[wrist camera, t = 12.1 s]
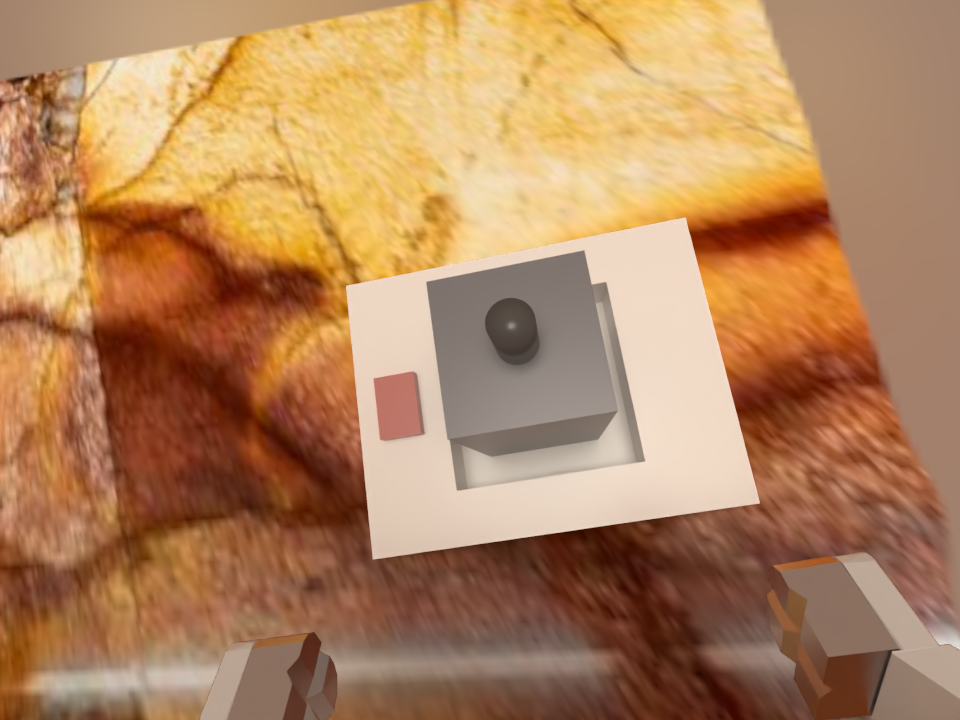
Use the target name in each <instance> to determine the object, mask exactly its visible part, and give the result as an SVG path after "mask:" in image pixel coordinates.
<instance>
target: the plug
mask: <svg viewBox="0 0 960 720" xmlns="http://www.w3.org/2000/svg"><path fill="white" fill-rule="evenodd" d="M426 284H427V292H428V299H429V307H430V314H431V321H432V329H433V336H434V344H435V351H436V359H437V366H438V373H439V381H440V388H441V396H442V403H443V410H444V418H445V425H446V433H447V439H448V440H450V441H453V442H455V443H458V444H460V445H463V446H465V447H468V448H470V449H473V450H475V451H478V452H480V453H483V454H485V455H488V456H490V457H493V456H499V455H505V454H511V453H518V452H524V451H530V450H536V449H542V448H548V447H555V446H561V445H567V444H573V443H579V442H585V441H592V440H598V439H599V438H600V437H601V435H602V434H603V432H604V431H605V429H606V428H607V426H608V425H609V423H610V422H611V421H612V419H613V418H614V416H615V415H616V413H617V412H618V408H617V403H616V398H615V393H614V389H613V384H612V379H611V374H610V370H609V365H608V360H607V355H606V350H605V346H604V341H603V336H602V331H601V327H600V322H599V317H598V312H597V308H596V303H595V298H594V293H593V289H592V284H591V279H590V274H589V270H588V265H587V260H586V255H585V251H584V250H583V251H578V252H573V253H568V254H563V255H558V256H553V257H548V258H543V259H538V260H533V261H528V262H523V263H518V264H513V265H508V266H503V267H498V268H493V269H488V270H483V271H478V272H473V273H468V274H463V275H458V276H453V277H448V278H443V279H438V280H433V281H428V282H426Z"/></svg>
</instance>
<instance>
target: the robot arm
mask: <svg viewBox="0 0 960 720" xmlns="http://www.w3.org/2000/svg"><path fill="white" fill-rule="evenodd" d="M768 580H769V582H770V584H771V586H772V588H773V589H772V590H771V591H770V592H769V593H768V594H767V595H766V612H767V617H768V622H769V626H770V628H771V631H772V634H773V636H774V639H775V641H776V643H777V645H778V647H779V649H780V651H781V653H783V654H784V655H786V656H787V657H788V658H790V659H791V660H792V661H794V662H795V663H796V668H795V675H794V680H795V682H796V684H797V686H798V688H799V690H800V692H801V694H802V696H803V698H804V700H805V702H806V704H807V706H808V708H809V710H810V712H811V714H812V716H813V718H814V720H830V719H841V718H852V717H863V716H872V717H871V719H872V720H960V650H958V649H957V648H955V647H953V646H952V645H950V644H945V645H939V644H938V643H937V642H936V640H935V639H934V638H933V636H932V635H931V634H930V632H929V631H928V630H927V628H926V627H925V626H924V624H923V623H922V622H921V620H920V619H919V618H918V616H917V615H916V614H915V612H914V611H913V610H912V608H911V607H910V606H909V605H908V603H907V602H906V601H905V599H904V598H903V597H902V595H901V594H900V593H899V591H898V590H897V589H896V587H895V586H894V585H893V583H892V582H891V581H890V579H889V578H888V577H887V575H886V574H885V573H884V571H883V570H882V569H881V567H880V566H879V565H878V564H877V562H876V561H875V560H874V558H873V557H871V556H870V555H868V554H867V553H862V552H859V553H853V554H847V555H841V556H835V557H830V556H828V557H822V558H816V559H810V560H804V561H798V562H791V563H785V564H779V565H773V566H771V568H770V569H769V572H768ZM320 646H321V641H320V640H319V638H318V637H317V635H316V634H315V633H314V632H312V633H305V634H297V635H290V636H282V637H275V638H268V639H257V640H250V641H244V642H237V643H232V644H231V646H230V647H229V648H228V650H227V651H226V652H225V654H224V656H223V659H222V662H221V664H220V667H219V669H218V672H217V675H216V677H215V680H214V682H213V685H212V688H211V690H210V693H209V695H208V698H207V701H206V703H205V706H204V708H203V711H202V714H201V716H200V719H199V720H327V719H328V718H329V717H330V715H331V714H332V713H333V711H334V709H335V703H336V697H337V673H336V669H335V665H334V663H333V661H332V659H331V658H330V656H328V655H326V654H324V653H322V652H320V651H319V650H320Z"/></svg>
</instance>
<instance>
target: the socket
mask: <svg viewBox="0 0 960 720" xmlns="http://www.w3.org/2000/svg"><path fill="white" fill-rule="evenodd" d="M583 250H584V251H585V255H586V260H587V265H588V270H589V274H590V279H591V284H592V289H593V293H594V298H595V303H596V308H597V312H598V317H599V322H600V327H601V331H602V336H603V341H604V346H605V350H606V355H607V360H608V365H609V370H610V374H611V379H612V384H613V389H614V393H615V398H616V403H617V408H618V412H617V413H616V415H615V416H614V418H613V419H612V421H611V422H610V423H609V425H608V426H607V428H606V429H605V431H604V432H603V434H602V435H601V437H600V438H599V439H598V440H592V441H585V442H579V443H573V444H567V445H561V446H555V447H548V448H542V449H536V450H530V451H524V452H518V453H511V454H505V455H499V456H493V457H490V456H488V455H485V454H483V453H480V452H478V451H475V450H473V449H470V448H468V447H465V446H463V445H460V444H458V443H455V442H453V441H450V440H448V439H447V433H446V425H445V418H444V410H443V403H442V396H441V388H440V381H439V373H438V366H437V359H436V351H435V344H434V336H433V329H432V321H431V314H430V307H429V299H428V292H427V284H426V282H428V281H433V280H438V279H443V278H448V277H453V276H458V275H463V274H468V273H473V272H478V271H483V270H488V269H493V268H498V267H503V266H508V265H513V264H518V263H523V262H528V261H533V260H538V259H543V258H548V257H553V256H558V255H563V254H568V253H573V252H578V251H583ZM346 291H347V301H348V311H349V321H350V332H351V342H352V352H353V362H354V372H355V383H356V393H357V403H358V413H359V423H360V434H361V444H362V454H363V464H364V474H365V485H366V495H367V505H368V515H369V525H370V535H371V546H372V556H373V559H380V558H387V557H394V556H401V555H408V554H414V553H421V552H428V551H435V550H442V549H449V548H456V547H463V546H470V545H476V544H483V543H490V542H497V541H504V540H511V539H518V538H525V537H531V536H538V535H545V534H552V533H559V532H566V531H573V530H580V529H587V528H593V527H600V526H607V525H614V524H621V523H628V522H635V521H642V520H648V519H655V518H662V517H669V516H676V515H683V514H690V513H697V512H704V511H710V510H717V509H724V508H731V507H738V506H745V505H752V504H759V503H760V501H759V497H758V494H757V490H756V486H755V482H754V478H753V475H752V471H751V467H750V463H749V459H748V455H747V452H746V448H745V444H744V440H743V436H742V432H741V429H740V425H739V421H738V417H737V413H736V409H735V406H734V402H733V398H732V394H731V390H730V386H729V383H728V379H727V375H726V371H725V367H724V363H723V360H722V356H721V352H720V348H719V344H718V340H717V337H716V333H715V329H714V325H713V321H712V317H711V314H710V310H709V306H708V302H707V298H706V294H705V291H704V287H703V283H702V279H701V275H700V272H699V268H698V264H697V260H696V256H695V252H694V249H693V245H692V241H691V237H690V233H689V229H688V226H687V222H686V218H680V219H675V220H670V221H665V222H660V223H655V224H651V225H646V226H641V227H636V228H631V229H626V230H621V231H616V232H611V233H606V234H601V235H596V236H591V237H586V238H581V239H576V240H571V241H566V242H561V243H556V244H551V245H546V246H542V247H537V248H532V249H527V250H522V251H517V252H512V253H507V254H502V255H497V256H492V257H487V258H482V259H477V260H472V261H467V262H462V263H457V264H452V265H447V266H442V267H438V268H433V269H428V270H423V271H418V272H413V273H408V274H403V275H398V276H393V277H388V278H383V279H378V280H373V281H368V282H363V283H358V284H353V285H348V286H346Z"/></svg>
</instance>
